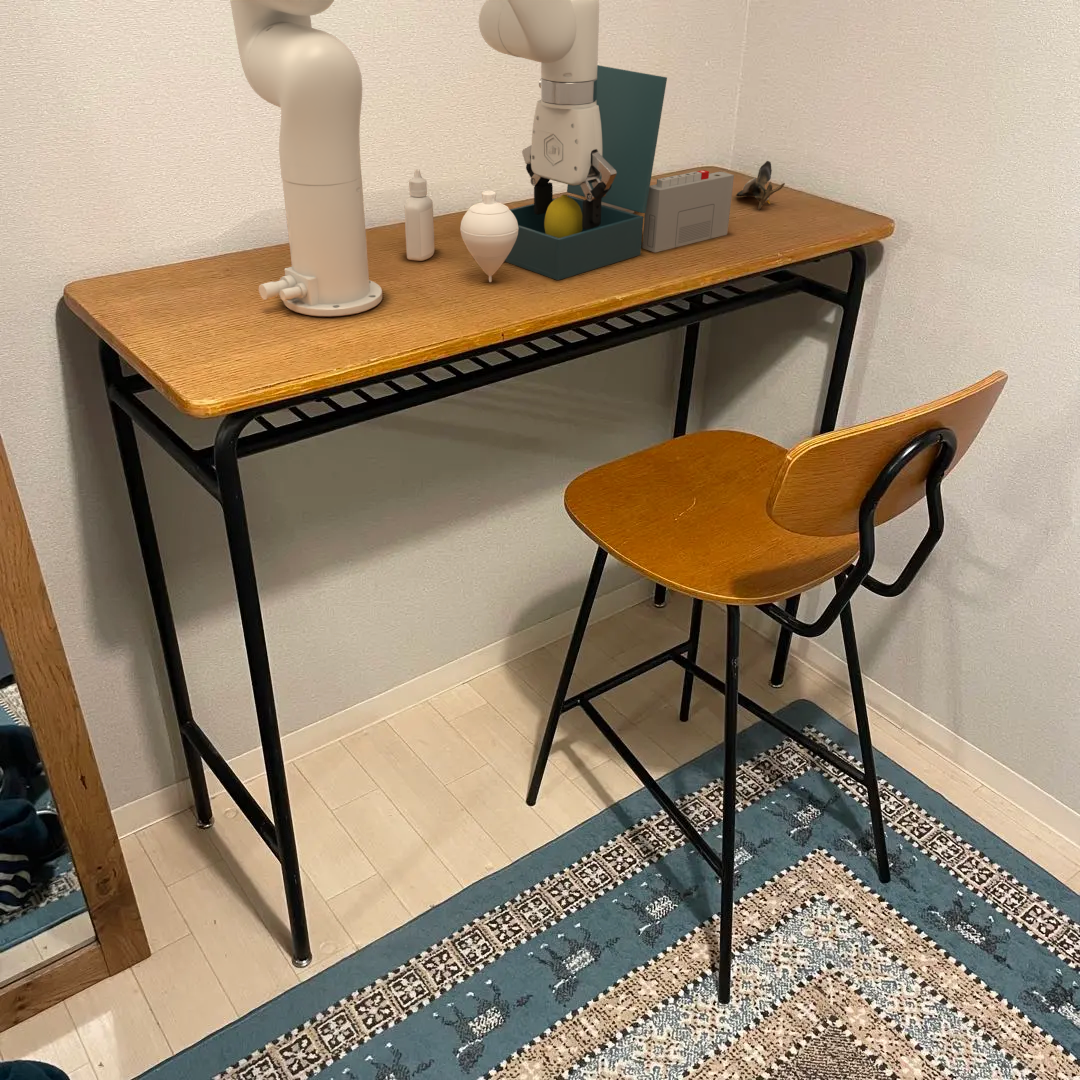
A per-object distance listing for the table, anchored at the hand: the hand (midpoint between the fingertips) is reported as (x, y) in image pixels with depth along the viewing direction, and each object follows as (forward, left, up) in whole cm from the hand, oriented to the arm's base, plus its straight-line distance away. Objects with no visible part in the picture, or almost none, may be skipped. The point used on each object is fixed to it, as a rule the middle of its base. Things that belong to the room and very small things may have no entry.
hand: (566, 219), depth 150 cm
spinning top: (-17, -2, -5) cm, 17 cm away
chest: (-1, 0, -5) cm, 5 cm away
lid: (+9, 0, +10) cm, 13 cm away
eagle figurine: (+44, -2, -5) cm, 45 cm away
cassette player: (+18, -7, -5) cm, 21 cm away
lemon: (-1, 0, -5) cm, 5 cm away
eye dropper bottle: (-17, +13, -5) cm, 22 cm away
